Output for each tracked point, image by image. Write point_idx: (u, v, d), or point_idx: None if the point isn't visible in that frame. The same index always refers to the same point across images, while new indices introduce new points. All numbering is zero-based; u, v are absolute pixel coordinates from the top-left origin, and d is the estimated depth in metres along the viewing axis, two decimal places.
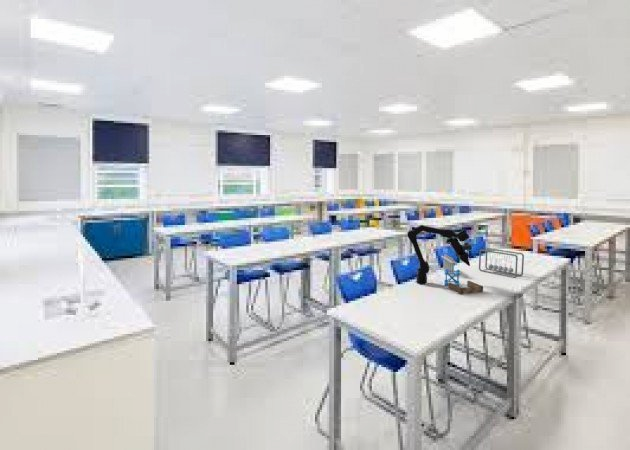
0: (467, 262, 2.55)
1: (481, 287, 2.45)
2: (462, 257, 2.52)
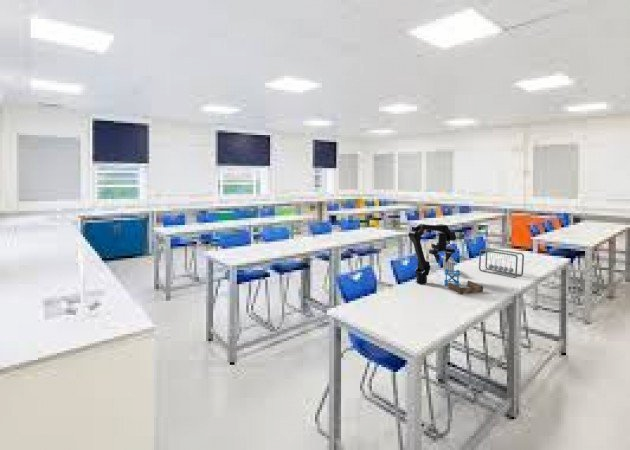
0: None
1: (481, 287, 2.45)
2: None
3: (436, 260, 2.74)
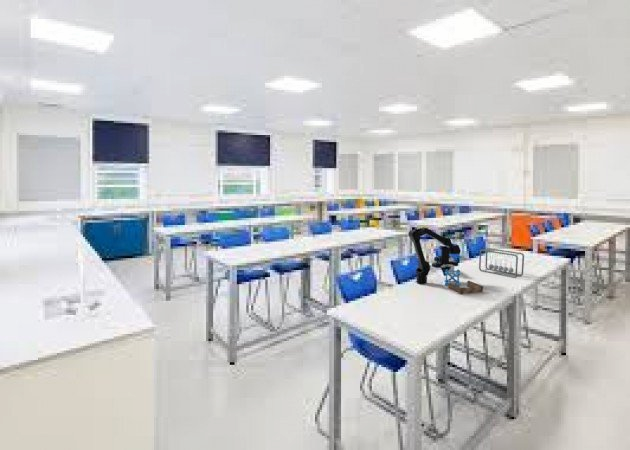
0: None
1: (481, 287, 2.45)
2: None
3: (443, 273, 2.72)
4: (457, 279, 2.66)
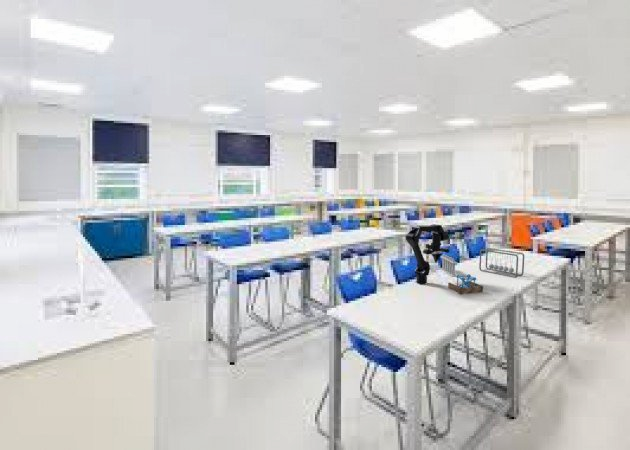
0: None
1: (481, 287, 2.45)
2: None
3: (434, 260, 2.75)
4: (468, 284, 2.54)
